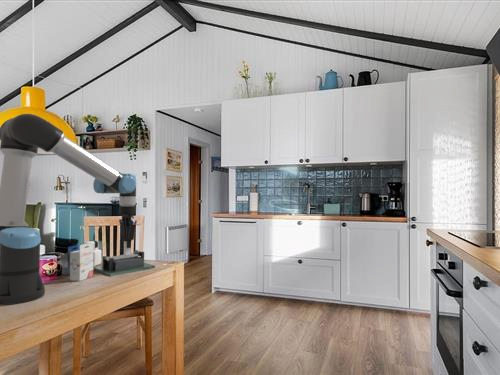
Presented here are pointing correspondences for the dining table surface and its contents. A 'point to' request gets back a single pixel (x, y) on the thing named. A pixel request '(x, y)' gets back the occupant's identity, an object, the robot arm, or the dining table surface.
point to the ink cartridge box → (81, 263)
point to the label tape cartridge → (68, 259)
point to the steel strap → (124, 256)
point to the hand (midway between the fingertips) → (127, 254)
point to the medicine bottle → (95, 253)
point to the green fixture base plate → (123, 265)
